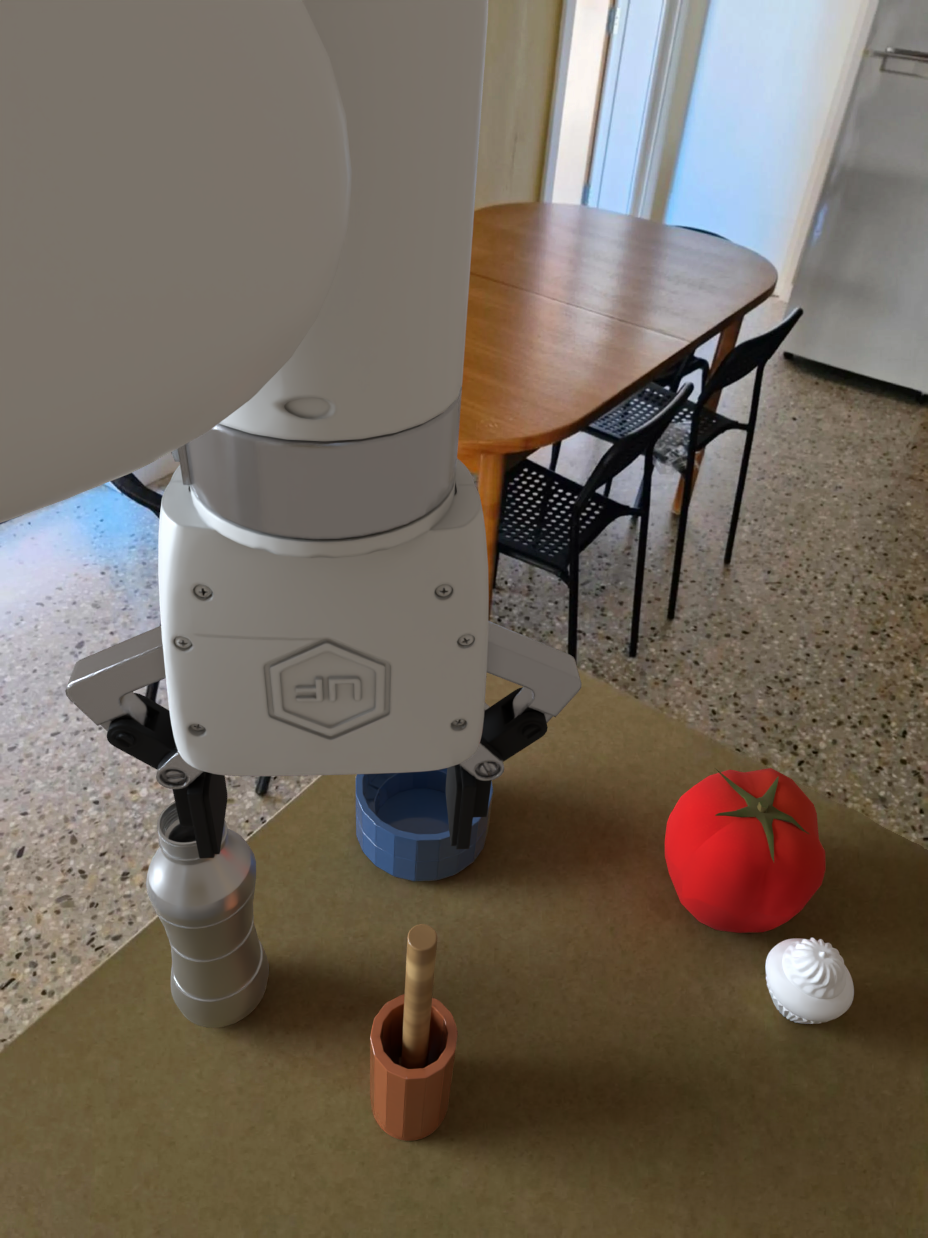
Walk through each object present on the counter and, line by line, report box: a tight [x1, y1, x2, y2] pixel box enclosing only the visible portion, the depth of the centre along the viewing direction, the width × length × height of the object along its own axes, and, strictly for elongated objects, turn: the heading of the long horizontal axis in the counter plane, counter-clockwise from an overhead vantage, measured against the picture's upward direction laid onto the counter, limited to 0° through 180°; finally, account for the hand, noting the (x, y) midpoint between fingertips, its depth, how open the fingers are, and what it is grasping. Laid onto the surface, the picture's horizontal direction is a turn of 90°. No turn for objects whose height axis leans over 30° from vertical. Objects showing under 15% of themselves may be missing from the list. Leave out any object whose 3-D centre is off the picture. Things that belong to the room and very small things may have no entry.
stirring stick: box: [398, 923, 439, 1069], centre depth 53 cm, size 2×2×19 cm
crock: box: [369, 993, 459, 1142], centre depth 56 cm, size 5×5×9 cm
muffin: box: [764, 937, 855, 1025], centre depth 64 cm, size 6×6×7 cm
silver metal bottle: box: [145, 800, 270, 1029], centre depth 58 cm, size 6×7×20 cm
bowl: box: [355, 768, 494, 882], centre depth 75 cm, size 11×11×6 cm
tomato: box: [664, 767, 827, 934], centre depth 70 cm, size 12×13×12 cm
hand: (337, 824), depth 36 cm, fingers open, 9 cm apart
